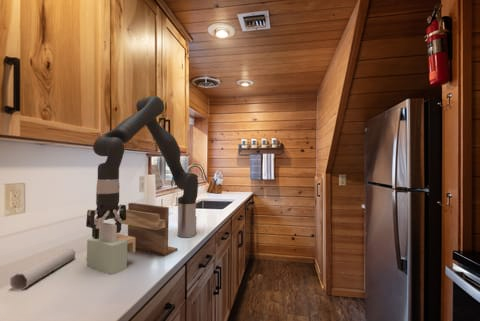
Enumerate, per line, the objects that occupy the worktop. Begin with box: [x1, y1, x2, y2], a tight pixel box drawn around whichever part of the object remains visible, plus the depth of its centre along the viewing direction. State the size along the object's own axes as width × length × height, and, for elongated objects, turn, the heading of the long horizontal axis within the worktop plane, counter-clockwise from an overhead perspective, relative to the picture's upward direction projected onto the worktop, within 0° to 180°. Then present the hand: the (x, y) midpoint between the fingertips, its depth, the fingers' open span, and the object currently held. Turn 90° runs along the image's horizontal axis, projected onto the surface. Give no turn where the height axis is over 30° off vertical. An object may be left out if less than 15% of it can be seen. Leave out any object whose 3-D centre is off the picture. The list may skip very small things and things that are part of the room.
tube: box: [9, 248, 76, 291], centre depth 87 cm, size 5×5×25 cm
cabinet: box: [86, 221, 136, 276], centre depth 93 cm, size 10×14×16 cm
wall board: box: [121, 202, 179, 257], centre depth 109 cm, size 12×22×20 cm, turn 64°
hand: (107, 235), depth 91 cm, fingers open, 8 cm apart
